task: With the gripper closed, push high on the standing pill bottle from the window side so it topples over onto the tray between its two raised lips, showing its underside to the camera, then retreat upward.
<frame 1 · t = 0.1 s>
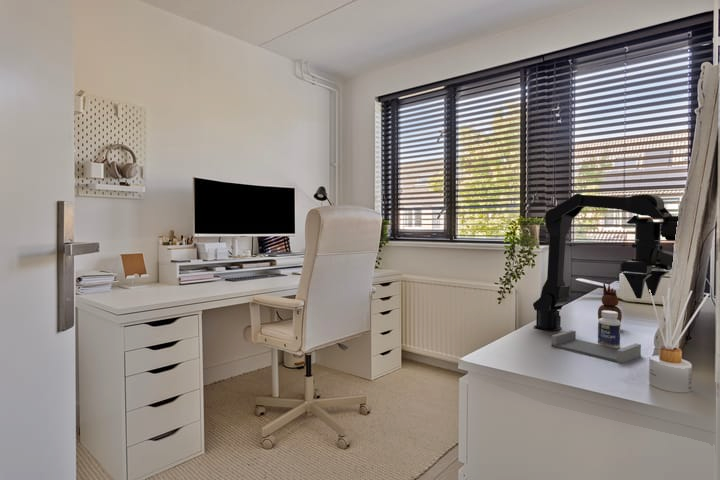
hand: (645, 296, 112), 14 cm above the table, fingers open, 9 cm apart
pill bottle: (608, 346, 115), on the table
wooden figurine: (609, 328, 137), on the table
tray: (594, 350, 110), on the table
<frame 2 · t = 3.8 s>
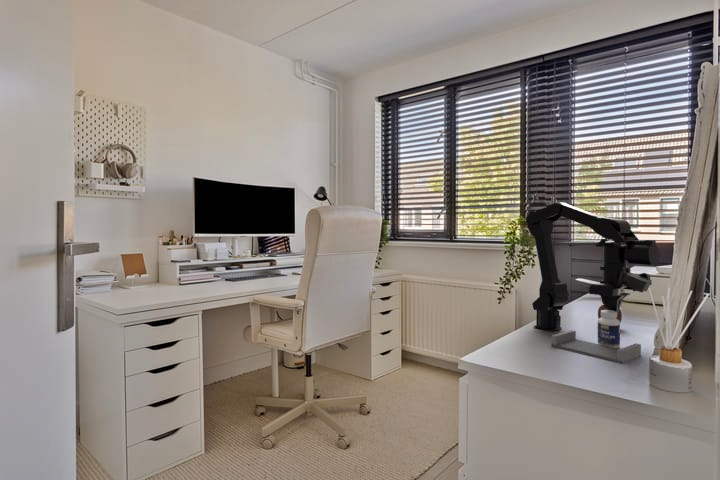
hand: (614, 317, 116), 8 cm above the table, fingers closed
pill bottle: (608, 346, 115), on the table, touching gripper
everything else where it was.
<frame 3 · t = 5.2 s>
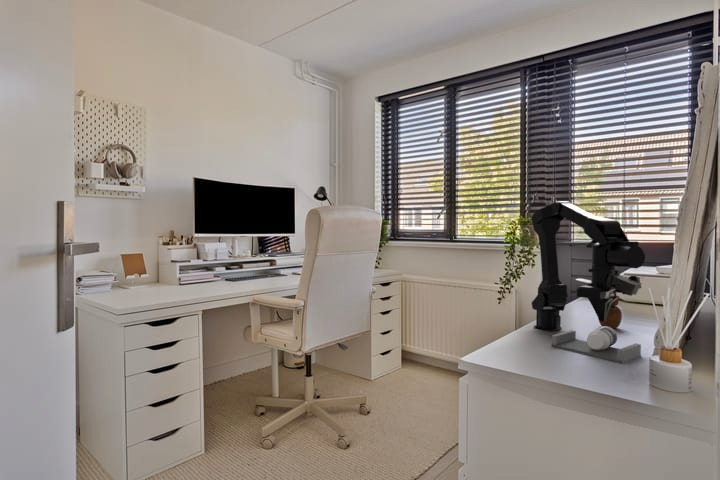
hand: (602, 321, 112), 8 cm above the table, fingers closed
pill bottle: (607, 335, 113), point 3 cm above the table, touching tray
everything else where it was.
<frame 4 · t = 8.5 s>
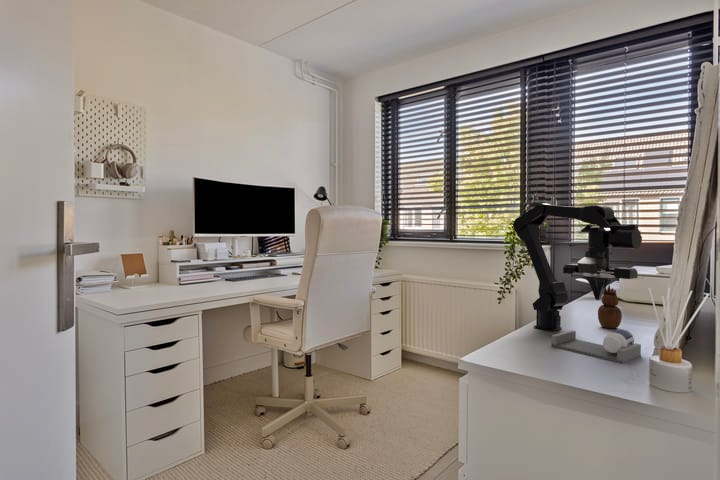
hand: (597, 299, 121), 12 cm above the table, fingers closed
pill bottle: (623, 338, 110), point 3 cm above the table, touching tray
everything else where it was.
at the end: pill bottle tilted 90°; pill bottle inside the target area (6.9 cm from its centre), point 3.3 cm above the table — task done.
